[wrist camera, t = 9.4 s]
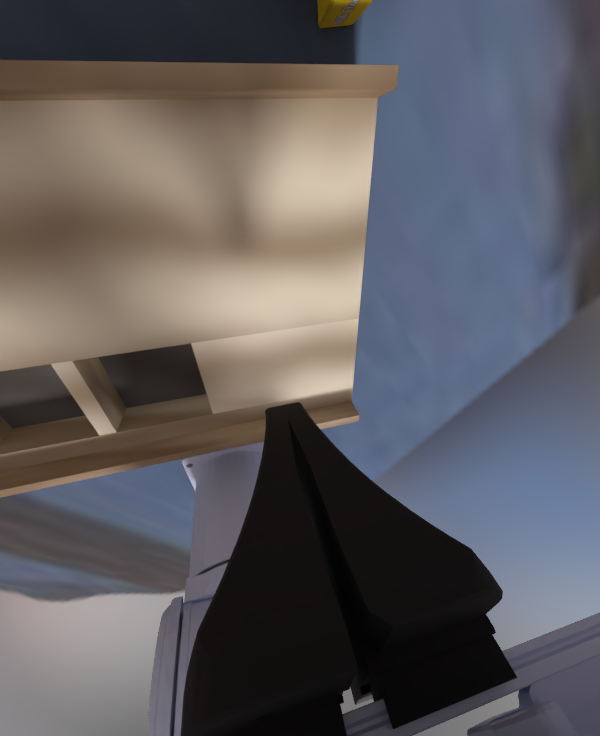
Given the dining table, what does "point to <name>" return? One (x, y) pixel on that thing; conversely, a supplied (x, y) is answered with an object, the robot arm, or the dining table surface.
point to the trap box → (176, 256)
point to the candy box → (340, 12)
